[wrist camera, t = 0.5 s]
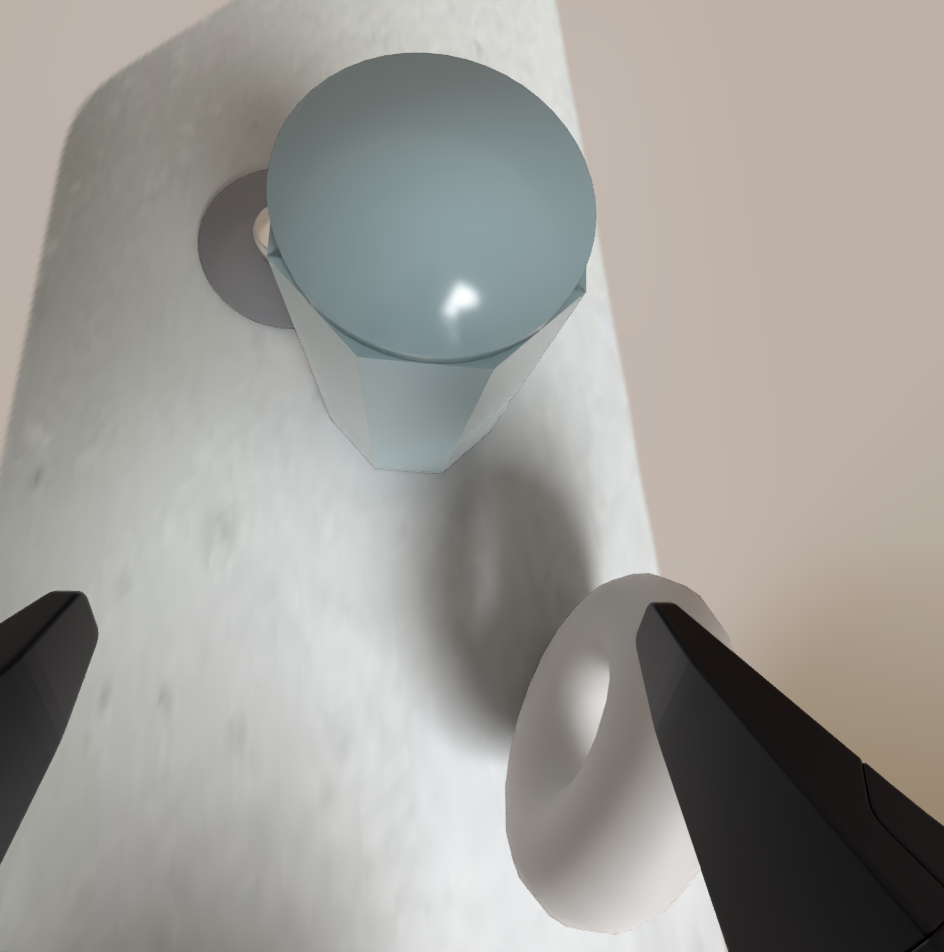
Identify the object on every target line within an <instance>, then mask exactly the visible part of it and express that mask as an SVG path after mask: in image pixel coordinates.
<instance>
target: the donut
mask: <svg viewBox="0 0 944 952" xmlns="http://www.w3.org/2000/svg"><path fill="white" fill-rule="evenodd" d="M651 602H672V603H675V604H676V605H678V606H679V607H680V608H681V609H683V610H684V611H685V612H686V613H687V614H689V615H690V616H691V617H692V618H693V619H695V620H696V621H697V622H698V623H699V624H701V625H702V626H703V627H704V628H705V629H707V630H708V631H709V632H710V633H711V634H712V635H714V636H715V637H716V638H717V639H718V640H720V641H721V642H722V643H723V644H724V645H726V646H727V647H728V648H729V649H730V650H732V651H733V649H732V645H731V641H730V637H729V635H728V633H727V632H726V631H725V629H724V628H723V626H722V625H721V624H720V622H719V621H718V620H717V618H716V617H715V616H714V614H713V613H712V611H711V610H710V609H709V607H708V606H707V605H706V603H705V602H704V600H703V599H702V598H701V596H700V595H698V594H697V593H695V592H694V591H692V590H691V589H690V588H688V587H687V586H685V585H682V584H679V583H677V582H674V581H671V580H668V579H666V578H663V577H660V576H656V575H653V574H649V573H645V574H632V575H629V576H625V577H621V578H618V579H614V580H612V581H609V582H607V583H605V584H602V585H601V586H599V587H598V588H597V589H596V590H594V591H593V592H592V593H591V594H589V595H588V596H587V597H586V598H584V599H583V600H582V601H581V602H580V603H579V604H578V605H577V606H576V607H575V608H574V610H573V611H572V612H571V613H570V615H569V616H568V617H567V618H566V620H565V621H564V622H563V623H562V625H561V626H560V627H559V629H558V630H557V632H556V634H555V635H554V637H553V639H552V640H551V642H550V644H549V645H548V647H547V649H546V651H545V652H544V654H543V656H542V658H541V660H540V663H539V665H538V667H537V669H536V671H535V674H534V676H533V678H532V680H531V682H530V685H529V688H528V691H527V693H526V696H525V699H524V702H523V705H522V708H521V711H520V714H519V717H518V720H517V724H516V728H515V733H514V737H513V741H512V745H511V749H510V754H509V762H508V769H507V777H506V784H505V801H506V834H507V838H508V842H509V846H510V850H511V854H512V858H513V862H514V864H515V867H516V870H517V873H518V876H519V878H520V880H521V881H522V882H523V883H524V885H525V886H526V887H527V889H528V890H529V891H530V893H531V894H532V895H533V896H534V897H535V899H536V900H537V901H538V902H539V904H540V905H541V906H542V907H543V909H544V910H545V911H546V912H547V914H548V915H549V916H551V917H552V918H554V919H555V920H557V921H558V922H560V923H561V924H563V925H564V926H566V927H570V928H575V929H580V930H585V931H592V932H599V933H605V934H612V935H616V934H620V933H623V932H627V931H631V930H633V929H635V928H637V927H638V926H640V925H642V924H644V923H645V922H647V921H649V920H651V919H653V918H654V917H656V916H658V915H660V914H661V913H663V912H665V911H667V910H668V909H669V908H670V907H671V906H672V905H673V903H674V902H675V901H676V900H677V899H678V898H679V897H680V895H681V894H682V893H683V892H684V890H685V889H686V888H687V886H688V885H689V884H690V883H691V881H692V880H693V879H694V877H695V876H696V875H697V874H698V872H699V871H700V870H701V868H700V865H699V862H698V860H697V857H696V854H695V851H694V848H693V845H692V842H691V839H690V836H689V833H688V830H687V827H686V824H685V821H684V818H683V815H682V812H681V809H680V806H679V803H678V800H677V797H676V794H675V791H674V788H673V785H672V782H671V779H670V776H669V773H668V770H667V767H666V764H665V761H664V758H663V755H662V752H661V749H660V746H659V743H658V740H657V737H656V733H655V730H654V726H653V722H652V718H651V713H650V709H649V704H648V699H647V695H646V690H645V686H644V681H643V677H642V672H641V668H640V663H639V659H638V654H637V650H636V634H637V631H638V628H639V626H640V623H641V621H642V618H643V615H644V613H645V610H646V608H647V606H648V605H649V604H650V603H651Z"/></svg>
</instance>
